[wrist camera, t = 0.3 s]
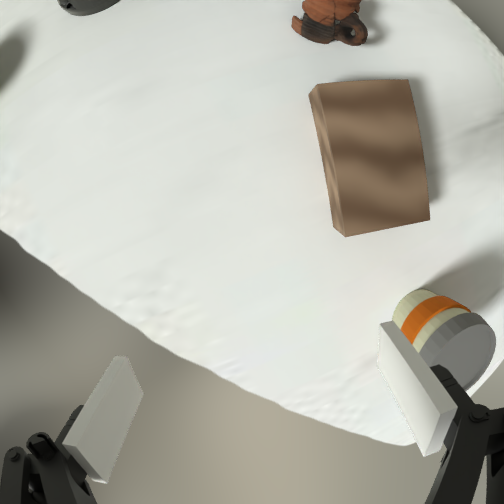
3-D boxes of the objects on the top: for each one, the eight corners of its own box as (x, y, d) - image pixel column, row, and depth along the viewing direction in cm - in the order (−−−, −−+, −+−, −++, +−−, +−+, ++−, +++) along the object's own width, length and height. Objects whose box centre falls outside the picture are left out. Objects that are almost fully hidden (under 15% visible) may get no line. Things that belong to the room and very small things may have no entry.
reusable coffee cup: (381, 354, 46) (416, 414, 32) (381, 288, 43) (428, 340, 28) (442, 335, 45) (486, 383, 31) (447, 270, 42) (504, 309, 27)
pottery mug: (271, 18, 33) (286, -27, 25) (314, 9, 35) (331, -29, 27) (335, 69, 32) (362, 23, 24) (372, 54, 35) (398, 17, 27)
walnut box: (307, 95, 36) (317, 84, 30) (388, 88, 35) (408, 79, 29) (332, 226, 40) (345, 237, 35) (409, 212, 40) (430, 220, 34)
